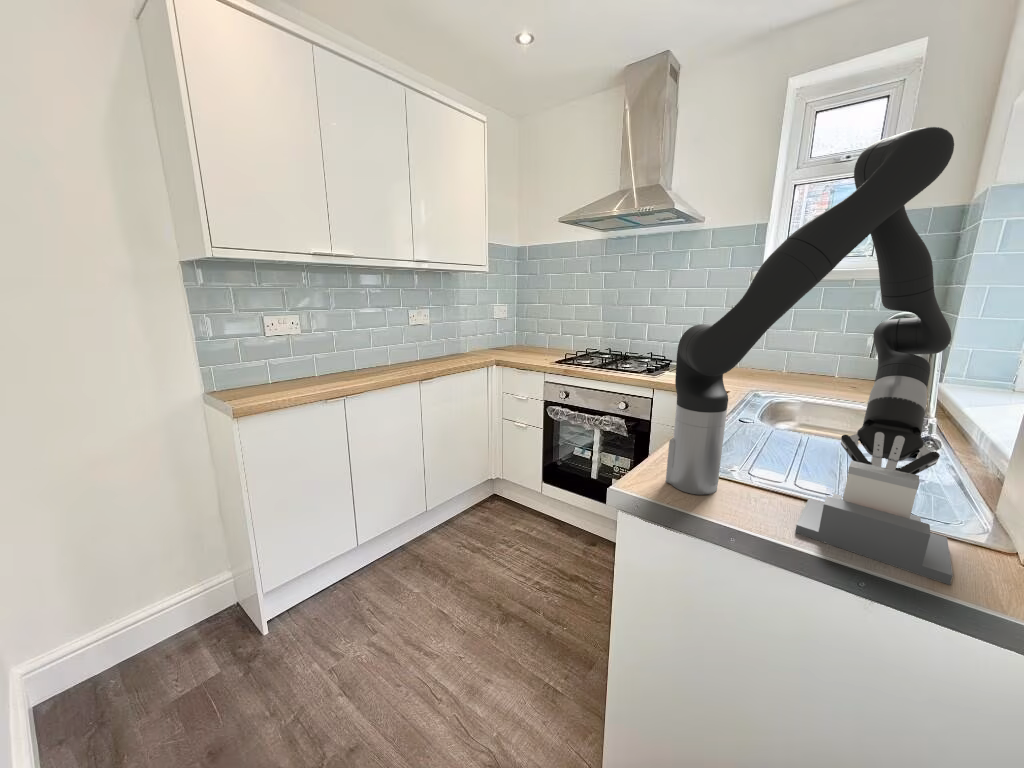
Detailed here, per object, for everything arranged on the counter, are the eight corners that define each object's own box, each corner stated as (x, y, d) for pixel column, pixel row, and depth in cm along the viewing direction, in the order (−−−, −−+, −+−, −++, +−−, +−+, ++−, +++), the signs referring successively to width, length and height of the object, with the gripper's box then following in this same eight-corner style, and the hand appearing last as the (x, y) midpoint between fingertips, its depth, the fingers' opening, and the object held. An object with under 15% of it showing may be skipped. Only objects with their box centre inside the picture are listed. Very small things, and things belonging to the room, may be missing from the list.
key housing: (795, 532, 68) (801, 497, 67) (807, 505, 77) (813, 473, 75) (950, 585, 56) (962, 543, 55) (944, 545, 65) (955, 508, 63)
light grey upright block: (837, 521, 68) (849, 466, 66) (840, 514, 70) (851, 460, 68) (904, 541, 62) (919, 482, 60) (904, 533, 65) (919, 475, 62)
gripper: (848, 389, 74) (827, 473, 68) (954, 403, 65) (939, 500, 60) (846, 411, 79) (826, 490, 73) (944, 426, 70) (930, 518, 65)
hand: (877, 495), depth 67 cm, fingers closed
